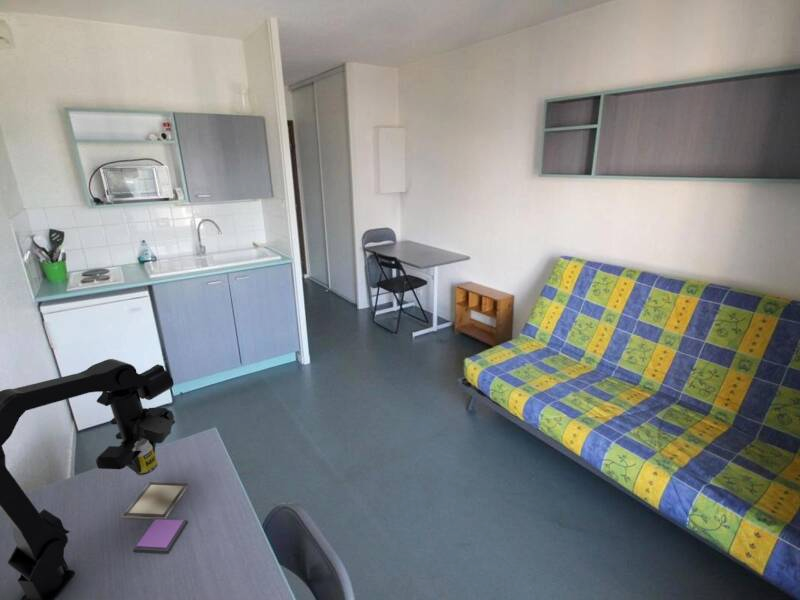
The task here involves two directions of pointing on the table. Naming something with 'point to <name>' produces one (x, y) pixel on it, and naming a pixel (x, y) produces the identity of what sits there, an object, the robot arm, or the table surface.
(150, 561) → the table surface
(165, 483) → the marked board
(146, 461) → the supplement bottle
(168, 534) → the ink pad
